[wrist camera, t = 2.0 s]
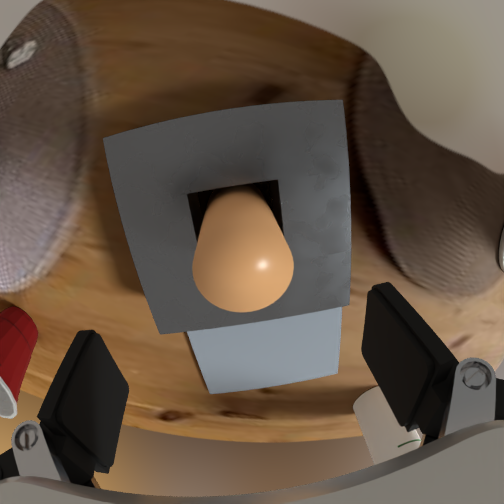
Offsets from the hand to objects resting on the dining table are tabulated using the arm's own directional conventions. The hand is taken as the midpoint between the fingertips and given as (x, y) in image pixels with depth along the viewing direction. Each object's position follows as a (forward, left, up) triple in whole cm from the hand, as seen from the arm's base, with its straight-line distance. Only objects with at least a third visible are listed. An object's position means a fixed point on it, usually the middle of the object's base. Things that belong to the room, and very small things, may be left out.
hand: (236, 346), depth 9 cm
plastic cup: (+29, +9, -17) cm, 35 cm away
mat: (-2, +16, -17) cm, 23 cm away
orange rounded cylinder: (-1, 0, -17) cm, 17 cm away
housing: (-1, 0, -17) cm, 17 cm away
